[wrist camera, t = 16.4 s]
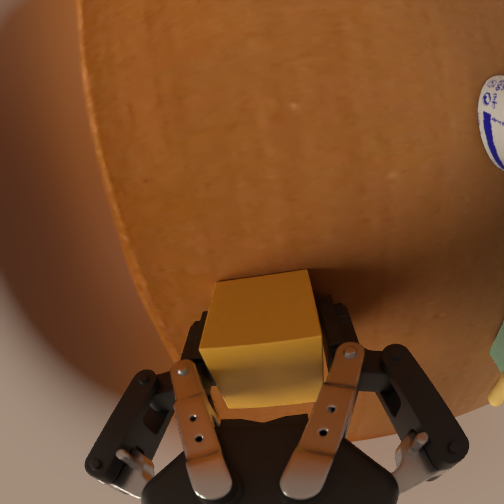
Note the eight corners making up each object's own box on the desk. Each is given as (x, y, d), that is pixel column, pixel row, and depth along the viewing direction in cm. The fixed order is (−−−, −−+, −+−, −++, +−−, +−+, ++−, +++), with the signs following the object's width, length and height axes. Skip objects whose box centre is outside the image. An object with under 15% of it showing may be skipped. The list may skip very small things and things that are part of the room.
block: (236, 344, 17) (228, 409, 12) (215, 281, 15) (197, 349, 10) (313, 334, 16) (323, 400, 12) (307, 268, 14) (322, 336, 10)
